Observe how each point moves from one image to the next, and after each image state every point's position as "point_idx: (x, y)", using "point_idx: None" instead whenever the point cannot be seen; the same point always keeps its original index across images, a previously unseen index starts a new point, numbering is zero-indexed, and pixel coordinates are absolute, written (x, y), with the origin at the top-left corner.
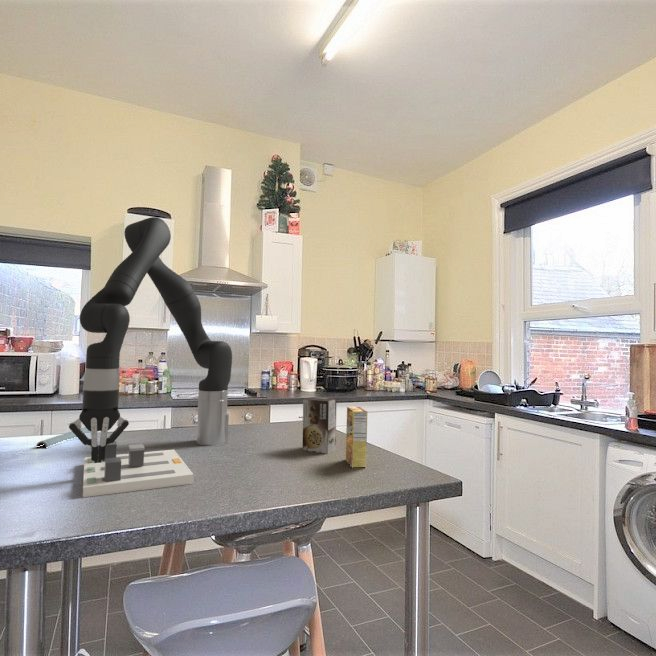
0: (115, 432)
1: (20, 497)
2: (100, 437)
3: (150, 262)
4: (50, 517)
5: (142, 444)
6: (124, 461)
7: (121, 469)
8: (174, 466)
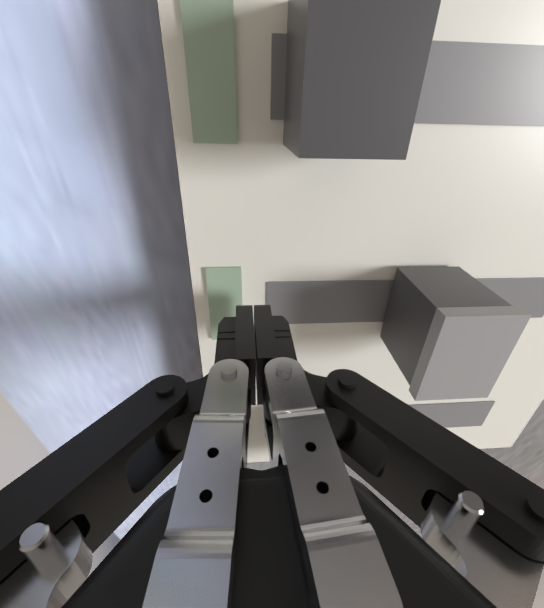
0: (377, 487)
1: (26, 368)
2: (270, 409)
3: None
4: (164, 490)
5: (521, 327)
6: (394, 200)
7: (344, 336)
8: (525, 363)
